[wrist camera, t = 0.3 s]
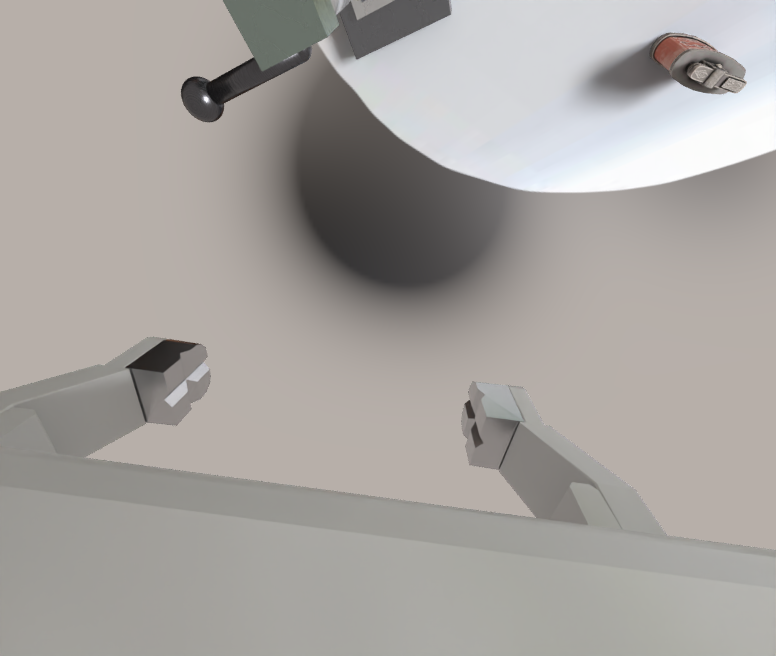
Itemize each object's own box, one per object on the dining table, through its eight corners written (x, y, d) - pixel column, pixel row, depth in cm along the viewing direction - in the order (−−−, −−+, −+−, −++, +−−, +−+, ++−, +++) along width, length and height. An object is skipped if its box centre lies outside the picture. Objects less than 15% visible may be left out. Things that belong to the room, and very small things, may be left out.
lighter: (642, 60, 41) (670, 87, 36) (666, 25, 39) (700, 49, 33) (697, 78, 42) (733, 108, 36) (724, 46, 39) (768, 73, 34)
